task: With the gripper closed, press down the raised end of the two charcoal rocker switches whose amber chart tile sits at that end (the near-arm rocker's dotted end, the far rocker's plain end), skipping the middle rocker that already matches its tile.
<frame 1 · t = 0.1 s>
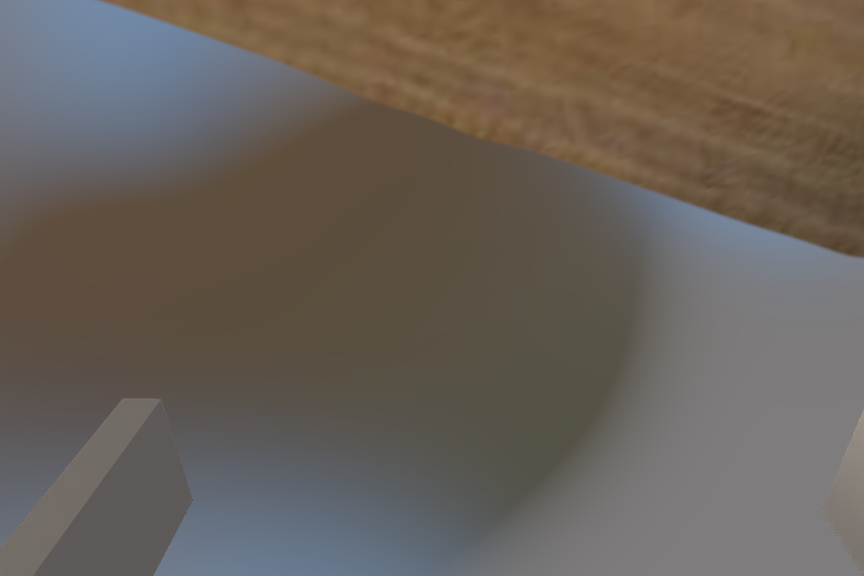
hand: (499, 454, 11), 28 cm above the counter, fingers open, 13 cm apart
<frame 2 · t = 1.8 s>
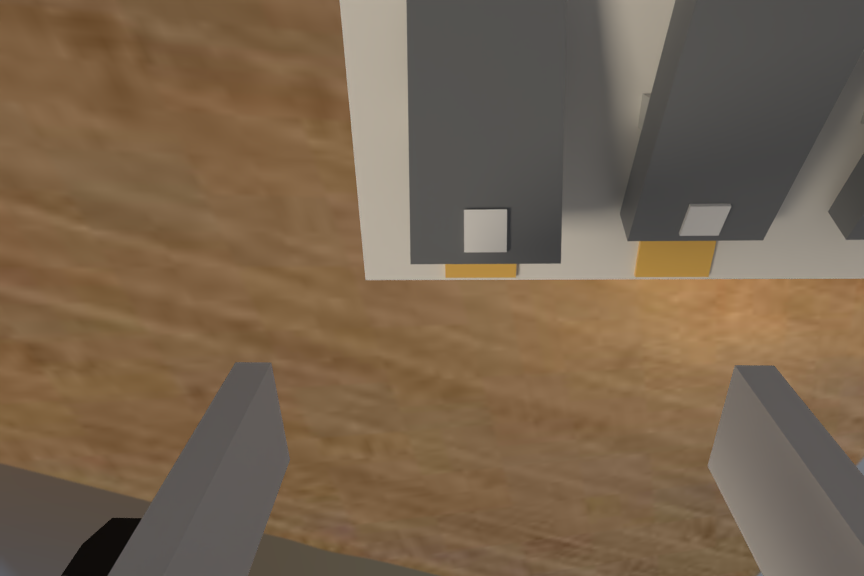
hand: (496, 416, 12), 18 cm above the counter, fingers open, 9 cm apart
switch unit: (659, 87, 25), on the counter
rocker b: (729, 125, 19), point 8 cm above the counter, hinge at 20.0°
rocker a: (484, 128, 19), point 8 cm above the counter, hinge at -20.0°
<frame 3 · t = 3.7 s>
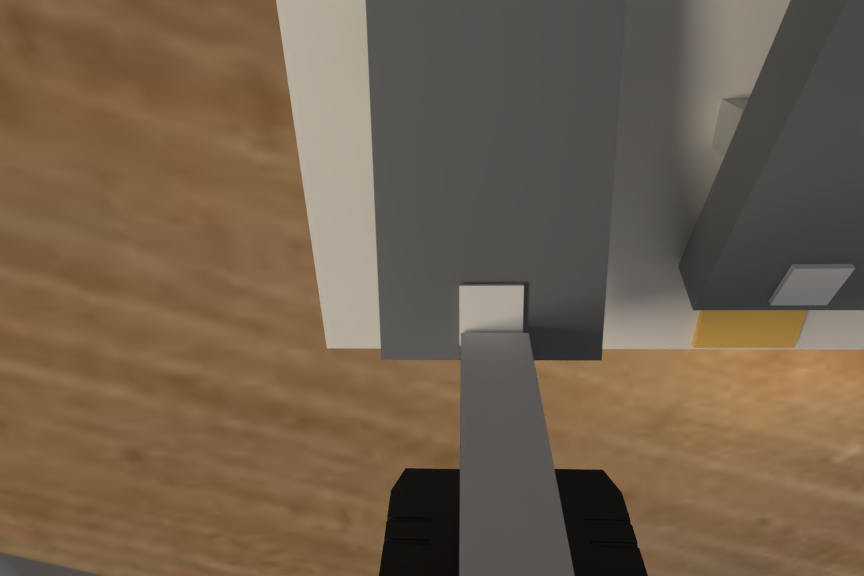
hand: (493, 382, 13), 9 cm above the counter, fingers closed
switch unit: (726, 84, 19), on the counter
rocker a: (490, 156, 13), point 8 cm above the counter, hinge at -13.9°, touching gripper
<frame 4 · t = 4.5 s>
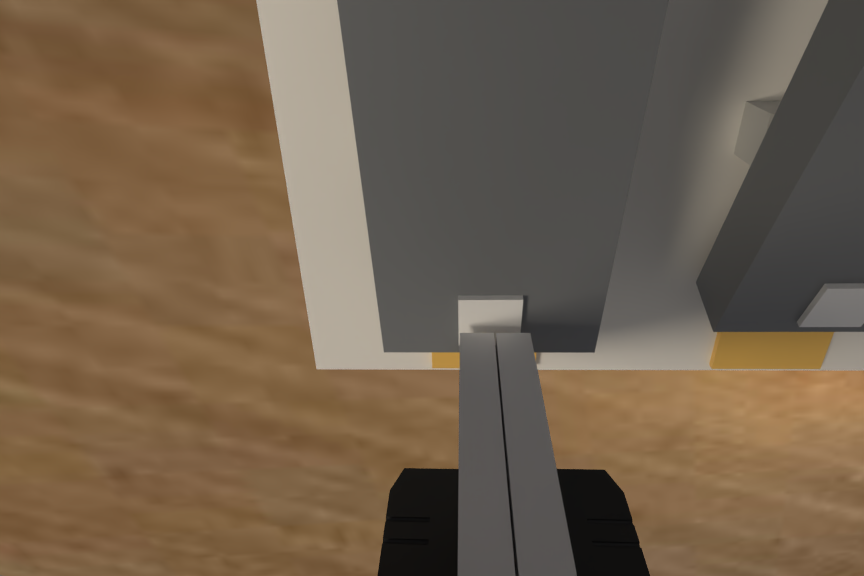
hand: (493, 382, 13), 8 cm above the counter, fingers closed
switch unit: (744, 84, 17), on the counter
rocker a: (492, 168, 11), point 8 cm above the counter, hinge at 10.5°
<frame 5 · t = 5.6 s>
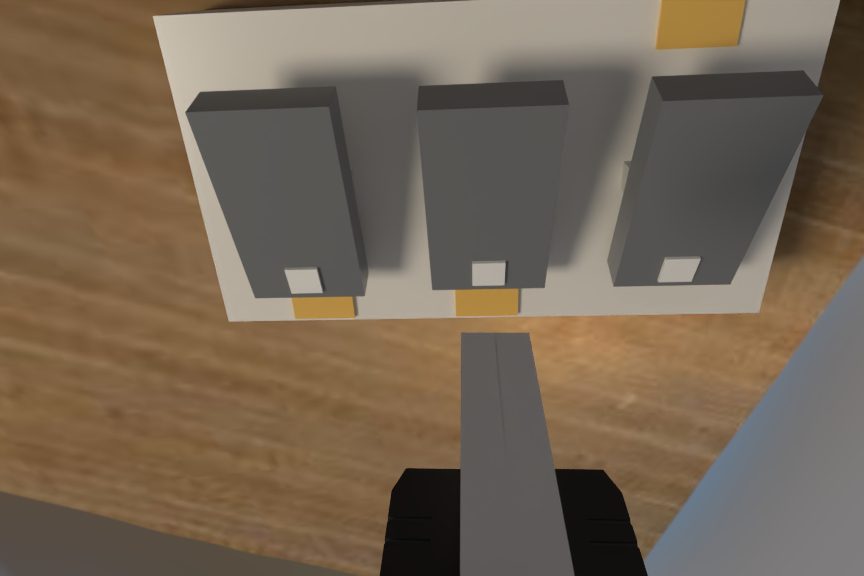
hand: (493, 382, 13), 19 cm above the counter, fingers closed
switch unit: (482, 149, 29), on the counter
rocker b: (489, 200, 23), point 8 cm above the counter, hinge at 20.0°
rocker c: (696, 194, 22), point 8 cm above the counter, hinge at 20.0°
rocker a: (290, 205, 23), point 8 cm above the counter, hinge at 15.4°
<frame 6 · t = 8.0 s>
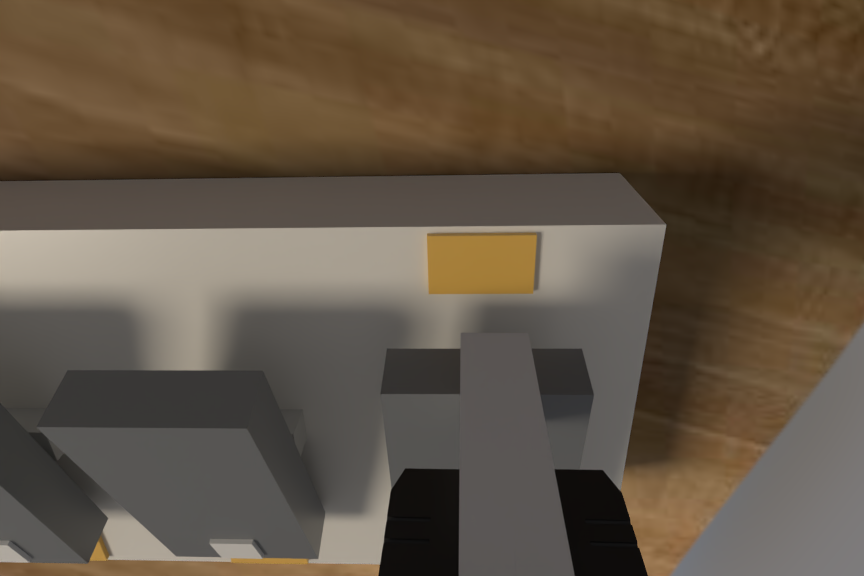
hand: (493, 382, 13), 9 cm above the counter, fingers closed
switch unit: (280, 342, 24), on the counter
rocker b: (211, 481, 17), point 8 cm above the counter, hinge at 20.0°
rocker c: (481, 484, 17), point 8 cm above the counter, hinge at 8.6°, touching gripper
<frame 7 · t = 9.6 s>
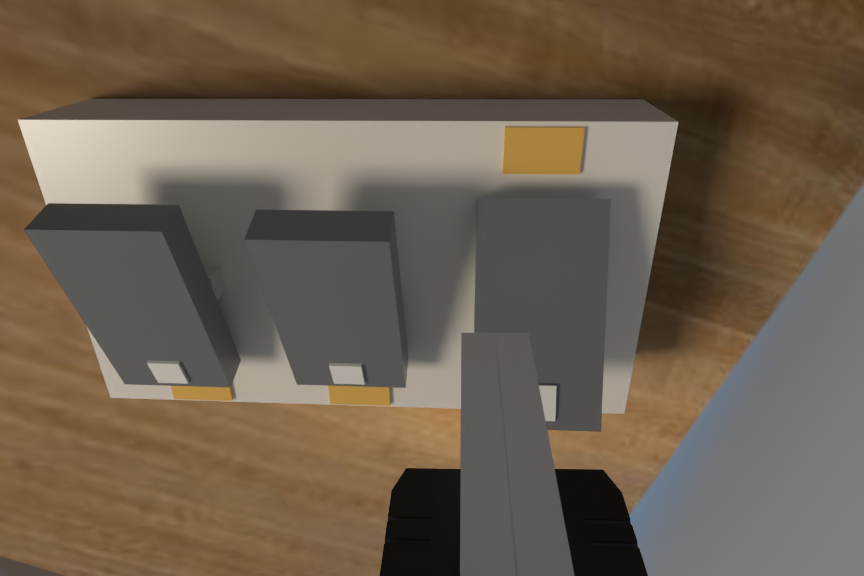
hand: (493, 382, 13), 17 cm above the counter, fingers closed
switch unit: (368, 238, 30), on the counter
rocker b: (339, 310, 23), point 8 cm above the counter, hinge at 20.0°
rocker c: (537, 313, 23), point 8 cm above the counter, hinge at -22.1°
rocker a: (147, 305, 24), point 8 cm above the counter, hinge at 16.2°
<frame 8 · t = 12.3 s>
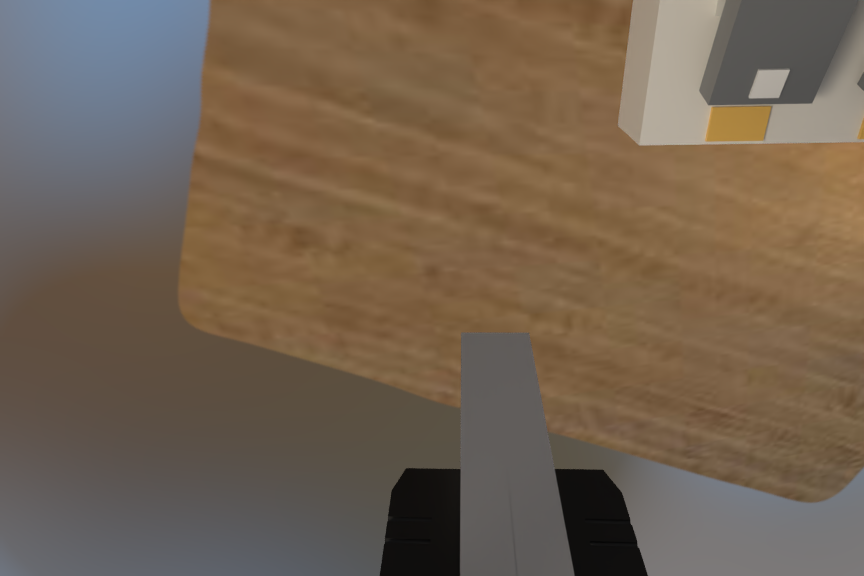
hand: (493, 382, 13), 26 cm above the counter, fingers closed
rocker a: (789, 3, 26), point 8 cm above the counter, hinge at 16.2°
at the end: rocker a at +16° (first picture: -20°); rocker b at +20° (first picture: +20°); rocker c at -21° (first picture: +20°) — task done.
